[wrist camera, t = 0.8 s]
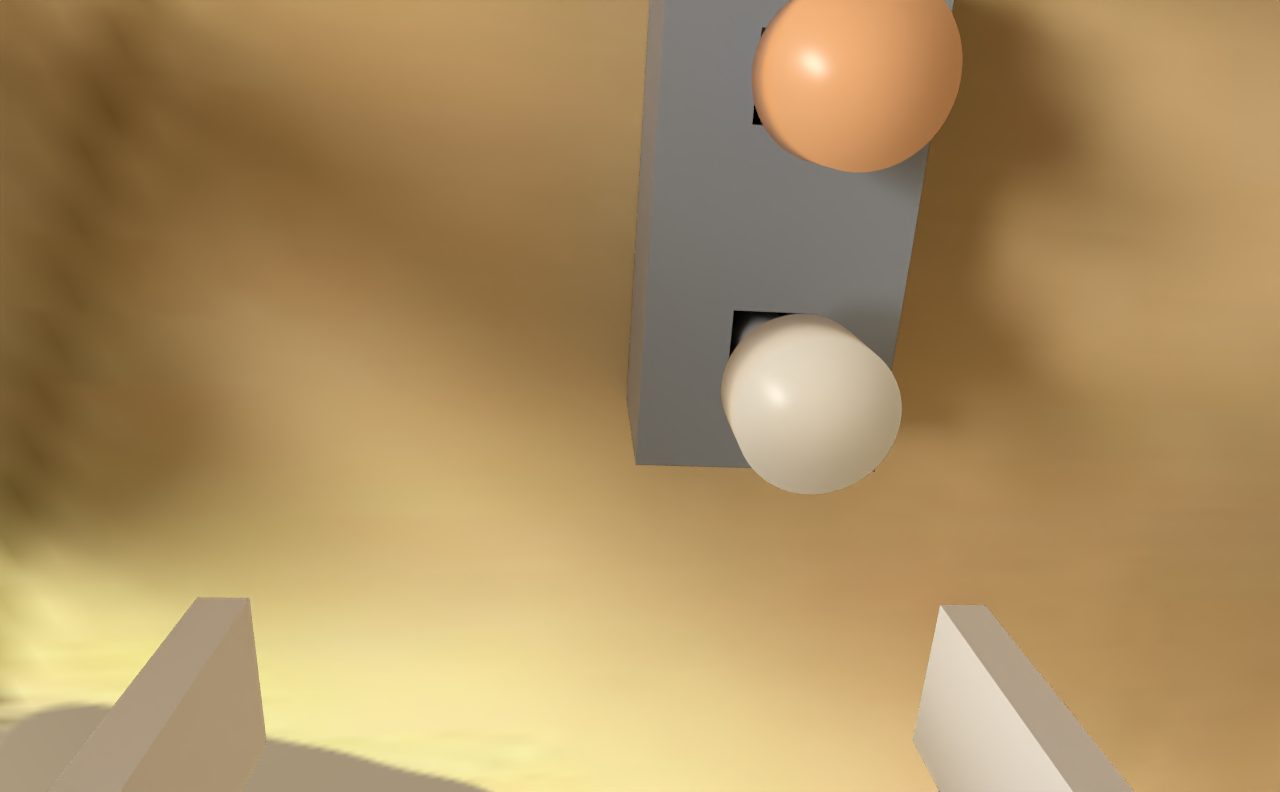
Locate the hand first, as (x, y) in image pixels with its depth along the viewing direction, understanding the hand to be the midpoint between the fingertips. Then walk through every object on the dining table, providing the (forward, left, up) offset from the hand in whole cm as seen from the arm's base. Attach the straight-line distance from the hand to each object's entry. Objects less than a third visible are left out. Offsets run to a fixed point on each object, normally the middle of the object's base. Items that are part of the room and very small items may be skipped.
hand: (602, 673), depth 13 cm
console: (+7, +5, -28) cm, 29 cm away
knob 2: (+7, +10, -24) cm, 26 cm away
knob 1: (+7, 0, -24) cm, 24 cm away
